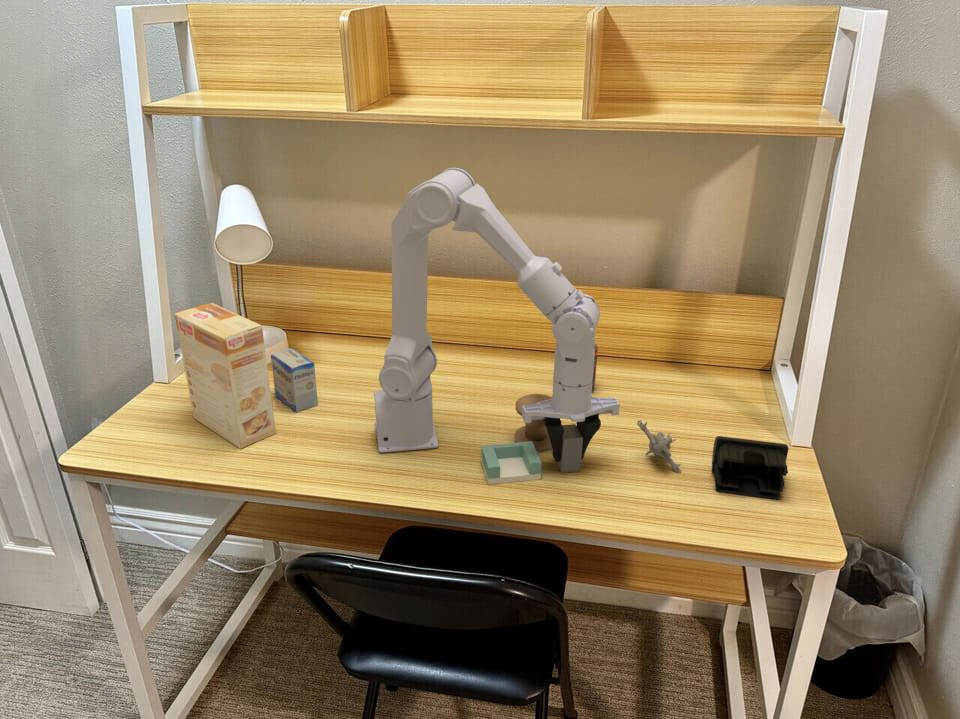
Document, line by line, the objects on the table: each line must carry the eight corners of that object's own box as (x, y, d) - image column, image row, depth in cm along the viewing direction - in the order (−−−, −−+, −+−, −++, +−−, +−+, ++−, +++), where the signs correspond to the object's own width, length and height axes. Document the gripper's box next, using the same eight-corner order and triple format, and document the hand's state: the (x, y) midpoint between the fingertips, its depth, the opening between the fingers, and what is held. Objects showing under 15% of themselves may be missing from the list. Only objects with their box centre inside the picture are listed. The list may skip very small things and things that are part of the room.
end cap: (778, 474, 115) (786, 436, 112) (784, 501, 108) (792, 462, 105) (710, 465, 117) (716, 428, 114) (712, 492, 110) (718, 453, 108)
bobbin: (519, 453, 119) (521, 417, 117) (510, 430, 126) (511, 395, 123) (562, 449, 121) (564, 413, 118) (551, 427, 127) (553, 392, 124)
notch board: (488, 484, 112) (488, 467, 110) (481, 462, 117) (481, 445, 116) (540, 479, 113) (541, 462, 112) (531, 457, 118) (532, 441, 117)
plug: (561, 473, 114) (563, 439, 112) (554, 458, 118) (556, 425, 115) (580, 471, 115) (583, 437, 112) (573, 456, 118) (575, 423, 116)
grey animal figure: (698, 453, 120) (694, 464, 111) (668, 475, 122) (662, 487, 113) (657, 404, 122) (651, 411, 113) (628, 426, 123) (620, 434, 115)
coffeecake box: (278, 433, 125) (263, 324, 116) (239, 450, 120) (222, 338, 111) (229, 403, 134) (212, 300, 125) (192, 418, 129) (172, 312, 120)
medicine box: (274, 397, 136) (269, 353, 132) (296, 389, 139) (291, 346, 135) (296, 413, 131) (291, 368, 127) (319, 405, 133) (314, 361, 130)
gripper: (531, 395, 105) (527, 476, 111) (629, 387, 108) (621, 466, 113) (519, 372, 111) (517, 450, 117) (613, 365, 114) (606, 442, 120)
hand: (567, 457), depth 116 cm, fingers closed on plug, 3 cm apart
